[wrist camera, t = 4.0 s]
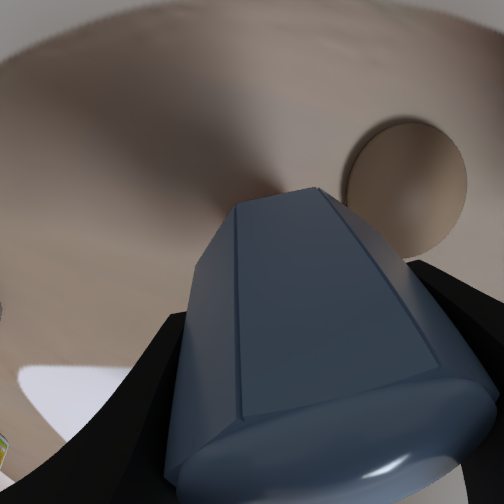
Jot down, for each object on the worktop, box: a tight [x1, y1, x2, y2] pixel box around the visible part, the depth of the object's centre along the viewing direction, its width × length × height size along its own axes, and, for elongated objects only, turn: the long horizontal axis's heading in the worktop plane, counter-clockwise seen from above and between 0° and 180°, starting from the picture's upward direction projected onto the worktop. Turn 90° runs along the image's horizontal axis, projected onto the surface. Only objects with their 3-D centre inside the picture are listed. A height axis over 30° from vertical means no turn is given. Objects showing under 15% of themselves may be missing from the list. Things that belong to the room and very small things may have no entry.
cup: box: [164, 187, 500, 504], centre depth 7 cm, size 6×6×7 cm
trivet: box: [346, 123, 467, 258], centre depth 14 cm, size 7×7×1 cm
